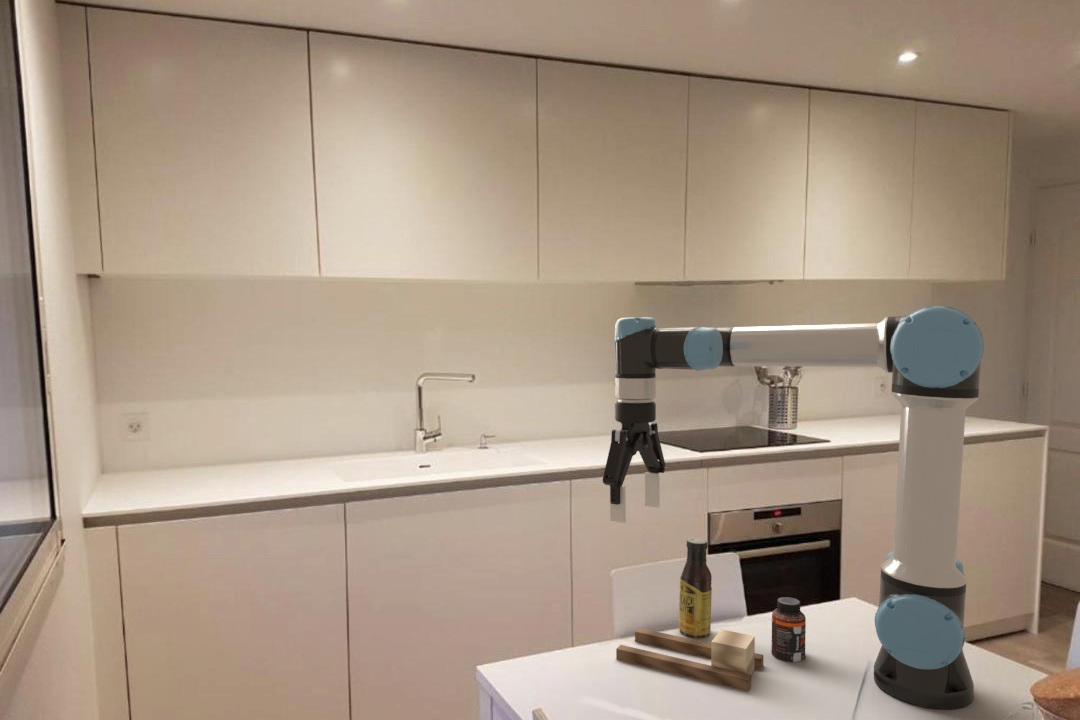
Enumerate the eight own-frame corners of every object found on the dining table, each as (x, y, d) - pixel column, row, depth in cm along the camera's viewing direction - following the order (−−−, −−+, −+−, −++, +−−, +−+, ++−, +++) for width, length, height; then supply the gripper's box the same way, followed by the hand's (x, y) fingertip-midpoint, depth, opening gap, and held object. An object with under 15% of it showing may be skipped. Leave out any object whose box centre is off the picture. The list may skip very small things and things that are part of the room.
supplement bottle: (807, 669, 131) (808, 607, 130) (773, 666, 132) (773, 605, 132) (802, 655, 137) (803, 595, 136) (769, 652, 138) (770, 593, 137)
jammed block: (754, 669, 129) (754, 636, 128) (745, 683, 123) (746, 648, 123) (721, 661, 132) (721, 629, 131) (711, 675, 126) (711, 641, 126)
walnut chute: (764, 669, 131) (764, 653, 131) (747, 699, 120) (747, 681, 120) (640, 641, 143) (640, 626, 143) (615, 666, 132) (615, 649, 132)
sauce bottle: (673, 633, 147) (673, 536, 146) (700, 629, 149) (701, 533, 148) (689, 646, 141) (689, 545, 140) (717, 642, 142) (718, 542, 142)
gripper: (647, 394, 147) (648, 498, 148) (582, 405, 127) (583, 525, 127) (682, 396, 143) (682, 503, 143) (620, 407, 122) (620, 531, 123)
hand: (635, 513), depth 135 cm, fingers open, 13 cm apart
